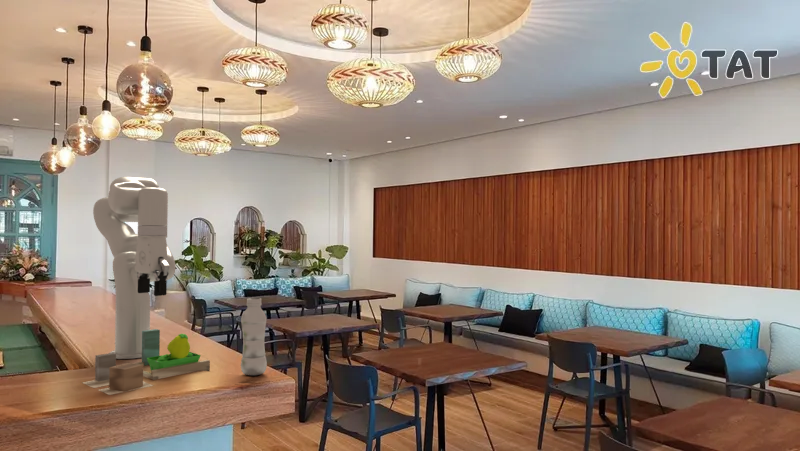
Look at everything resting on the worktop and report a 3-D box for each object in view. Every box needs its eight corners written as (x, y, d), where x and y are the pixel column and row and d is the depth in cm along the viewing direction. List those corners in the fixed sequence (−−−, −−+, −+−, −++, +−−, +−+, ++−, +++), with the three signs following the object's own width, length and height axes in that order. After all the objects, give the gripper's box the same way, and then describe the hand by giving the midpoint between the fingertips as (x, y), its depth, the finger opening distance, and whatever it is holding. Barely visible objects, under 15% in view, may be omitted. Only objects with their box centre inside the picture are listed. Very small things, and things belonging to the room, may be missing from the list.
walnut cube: (109, 389, 126) (109, 367, 126) (128, 383, 131) (128, 362, 131) (124, 391, 124) (124, 369, 124) (143, 386, 128) (143, 364, 129)
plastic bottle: (260, 378, 140) (260, 300, 140) (235, 377, 141) (236, 299, 142) (270, 372, 146) (271, 297, 147) (247, 371, 148) (248, 296, 148)
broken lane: (81, 387, 131) (82, 357, 132) (124, 379, 139) (124, 350, 139) (109, 400, 121) (109, 367, 122) (153, 390, 129) (153, 359, 129)
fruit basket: (186, 369, 150) (187, 328, 150) (204, 374, 144) (204, 331, 144) (145, 377, 141) (145, 333, 141) (162, 383, 135) (162, 337, 136)
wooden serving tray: (120, 371, 146) (120, 333, 146) (175, 361, 158) (175, 326, 158) (153, 383, 134) (153, 342, 134) (209, 371, 146) (210, 334, 146)
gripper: (125, 232, 155) (124, 292, 155) (153, 232, 144) (153, 297, 143) (151, 232, 161) (150, 290, 160) (181, 232, 149) (180, 295, 149)
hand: (151, 294), depth 152 cm, fingers open, 9 cm apart
